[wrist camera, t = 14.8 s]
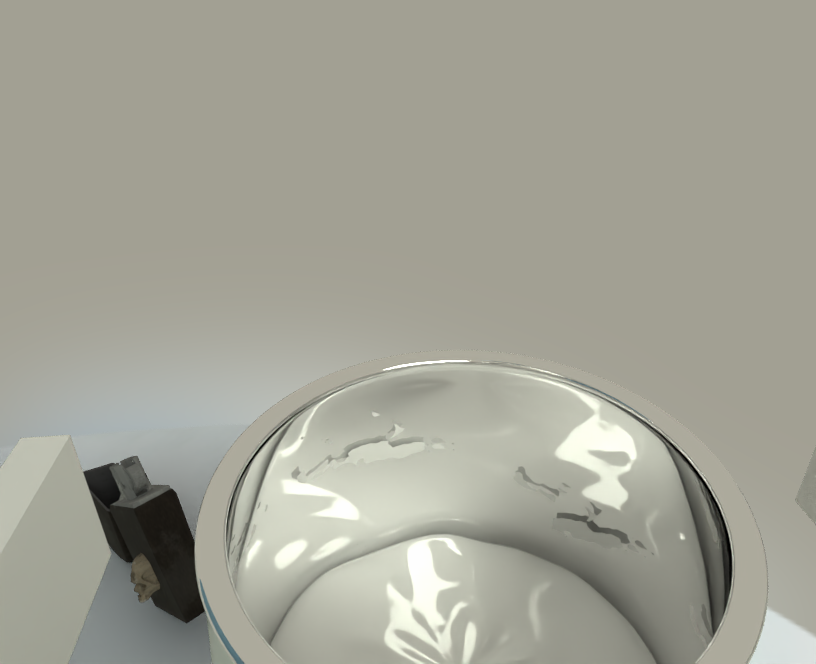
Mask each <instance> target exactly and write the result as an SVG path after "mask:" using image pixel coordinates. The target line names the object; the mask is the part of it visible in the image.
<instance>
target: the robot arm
mask: <svg viewBox="0 0 816 664" xmlns="http://www.w3.org/2000/svg"><path fill="white" fill-rule="evenodd" d="M795 501H796V502H797V504H798V505H799V506H800V507H801V508H802V509H803V511H804V512H805V513H806V514H807V515H808V516H809V518H810V519H811V520H812V521H813V522H814V523H815V525H816V448H815V450H814V453H813V455H812V458H811V460H810V463H809V466H808V468H807V471H806V473H805V476H804V479H803V481H802V484H801V487H800V489H799V492H798V494H797V497H796V499H795ZM110 556H111V551H110V548H109V545H108V542H107V540H106V537H105V534H104V531H103V528H102V525H101V522H100V519H99V517H98V514H97V511H96V508H95V505H94V502H93V499H92V496H91V494H90V491H89V488H88V485H87V482H86V479H85V476H84V473H83V471H82V468H81V465H80V462H79V459H78V456H77V453H76V451H75V448H74V445H73V442H72V439H71V436H70V435H60V436H45V437H30V438H21V439H20V440H19V441H18V443H17V444H16V446H15V447H14V449H13V450H12V452H11V453H10V455H9V456H8V458H7V459H6V460H5V462H4V463H3V465H2V466H1V468H0V664H68V663H69V660H70V658H71V655H72V653H73V650H74V648H75V645H76V643H77V640H78V638H79V635H80V633H81V630H82V627H83V625H84V622H85V620H86V617H87V615H88V612H89V610H90V607H91V605H92V602H93V600H94V597H95V594H96V592H97V589H98V587H99V584H100V582H101V579H102V577H103V574H104V572H105V569H106V567H107V564H108V562H109V559H110Z"/></svg>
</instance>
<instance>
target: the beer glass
mask: <svg viewBox="0 0 816 664" xmlns="http://www.w3.org/2000/svg"><path fill="white" fill-rule="evenodd" d="M194 552H195V570H196V577H197V584H198V588H199V593H200V597H201V600H202V603H203V607H204V610H205V612H206V618H207V626H208V634H209V643H210V653H211V662H212V664H749V662H750V660H751V658H752V656H753V654H754V652H755V650H756V647H757V644H758V642H759V639H760V636H761V633H762V629H763V626H764V621H765V616H766V610H767V602H768V570H767V561H766V554H765V549H764V546H763V541H762V538H761V534H760V532H759V528H758V526H757V523H756V521H755V518H754V515H753V513H752V511H751V509H750V507H749V505H748V503H747V501H746V499H745V497H744V495H743V494H742V492H741V490H740V489H739V487H738V485H737V484H736V482H735V481H734V479H733V478H732V476H731V475H730V474H729V472H728V471H727V469H726V468H725V467H724V466H723V465H722V463H721V462H720V461H719V460H718V458H717V457H716V456H715V455H714V454H713V453H712V452H711V451H710V449H709V448H708V447H707V446H705V444H704V443H703V442H701V440H700V439H698V438H697V437H696V436H695V435H694V434H693V433H692V432H691V431H689V430H688V429H687V428H686V427H685V426H683V425H682V424H681V423H680V422H678V421H677V420H676V419H674V418H673V417H672V416H670V415H669V414H668V413H666V412H665V411H663V410H662V409H660V408H659V407H657V406H655V405H654V404H653V403H651V402H649V401H648V400H646V399H644V398H642V397H640V396H639V395H637V394H635V393H633V392H631V391H629V390H627V389H625V388H623V387H621V386H619V385H617V384H615V383H613V382H611V381H608V380H606V379H604V378H601V377H599V376H596V375H593V374H591V373H588V372H585V371H582V370H579V369H576V368H573V367H570V366H567V365H563V364H560V363H556V362H552V361H548V360H543V359H539V358H534V357H529V356H523V355H517V354H510V353H502V352H492V351H477V350H441V351H426V352H416V353H408V354H401V355H396V356H390V357H386V358H381V359H376V360H372V361H368V362H364V363H361V364H358V365H354V366H351V367H348V368H345V369H342V370H340V371H337V372H335V373H332V374H329V375H327V376H325V377H323V378H321V379H318V380H316V381H314V382H312V383H310V384H308V385H306V386H304V387H302V388H300V389H299V390H297V391H295V392H293V393H292V394H290V395H289V396H287V397H286V398H284V399H282V400H281V401H279V402H278V403H277V404H275V405H274V406H272V407H271V408H270V409H269V410H267V411H266V412H265V413H263V415H261V416H260V417H259V418H258V419H257V420H255V421H254V422H253V423H252V424H251V425H250V426H249V427H248V428H247V429H246V430H245V431H244V432H243V433H242V434H241V436H240V437H239V438H238V439H237V440H236V441H235V443H234V444H233V445H232V446H231V448H230V449H229V450H228V452H227V453H226V455H225V456H224V458H223V459H222V461H221V462H220V464H219V466H218V467H217V469H216V471H215V473H214V474H213V476H212V478H211V481H210V483H209V485H208V487H207V490H206V492H205V495H204V497H203V501H202V504H201V507H200V511H199V515H198V521H197V526H196V534H195V550H194Z"/></svg>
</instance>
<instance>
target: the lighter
mask: <svg viewBox="0 0 816 664" xmlns="http://www.w3.org/2000/svg"><path fill="white" fill-rule="evenodd" d="M132 460H133V462H132ZM120 462H121V464H120V465H119V463H116V464H114V463H110V464H107V465H104V466H101V467H97V468H94V469H91V470H87V471H84V472H83V473H84V476H85V479H86V482H87V485H88V488H89V491H90V494H91V496H92V499H93V502H94V505H95V508H96V511H97V514H98V517H99V519H100V522H101V525H102V528H103V531H104V534H105V537H106V540H107V542H108V544H109V546H110V547H111V548H112V549H113V550H114V551H115V552H116V553H117V554H118V555H119V557H120V558H122V559H123V560H125V561H126V562H132V561H133V564H132V571H131V582H132V583H134V584H136V586H135V588H134V591H135V592H138V593H139V595H138V597H139V602H141V603H142V602H145V601H146V600H148V599H149V598H150V596H151V598H152V600H153V602H154V604H155V606H157V607H159V608H161V609H162V610H164V611H166V612H168V613H169V614H171V615H173V616H175V617H176V618H178V619H180V620H182V621H183V622H185V623H188V622H190V621H191V620H193V619H194V618H196V617H197V616H199V615H200V614H201V613H203V612H204V611H205V610H204V607H203V603H202V600H201V597H200V593H199V588H198V584H197V577H196V570H195V552H194V550H195V542H194V539H193V537H192V534H191V531H190V529H189V526H188V523H187V521H186V518H185V515H184V513H183V510H182V507H181V504H180V502H179V499H178V496H177V494H176V492H175V491H174V490H173V489H171V488H170V486H168V485H151V484H150V482H149V480H148V478H147V475H146V473H145V472H144V469H143V467H142V465H141V463H140V461H139V459H138V456H133V457H129V458H127V459H124V460H122V461H120Z"/></svg>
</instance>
